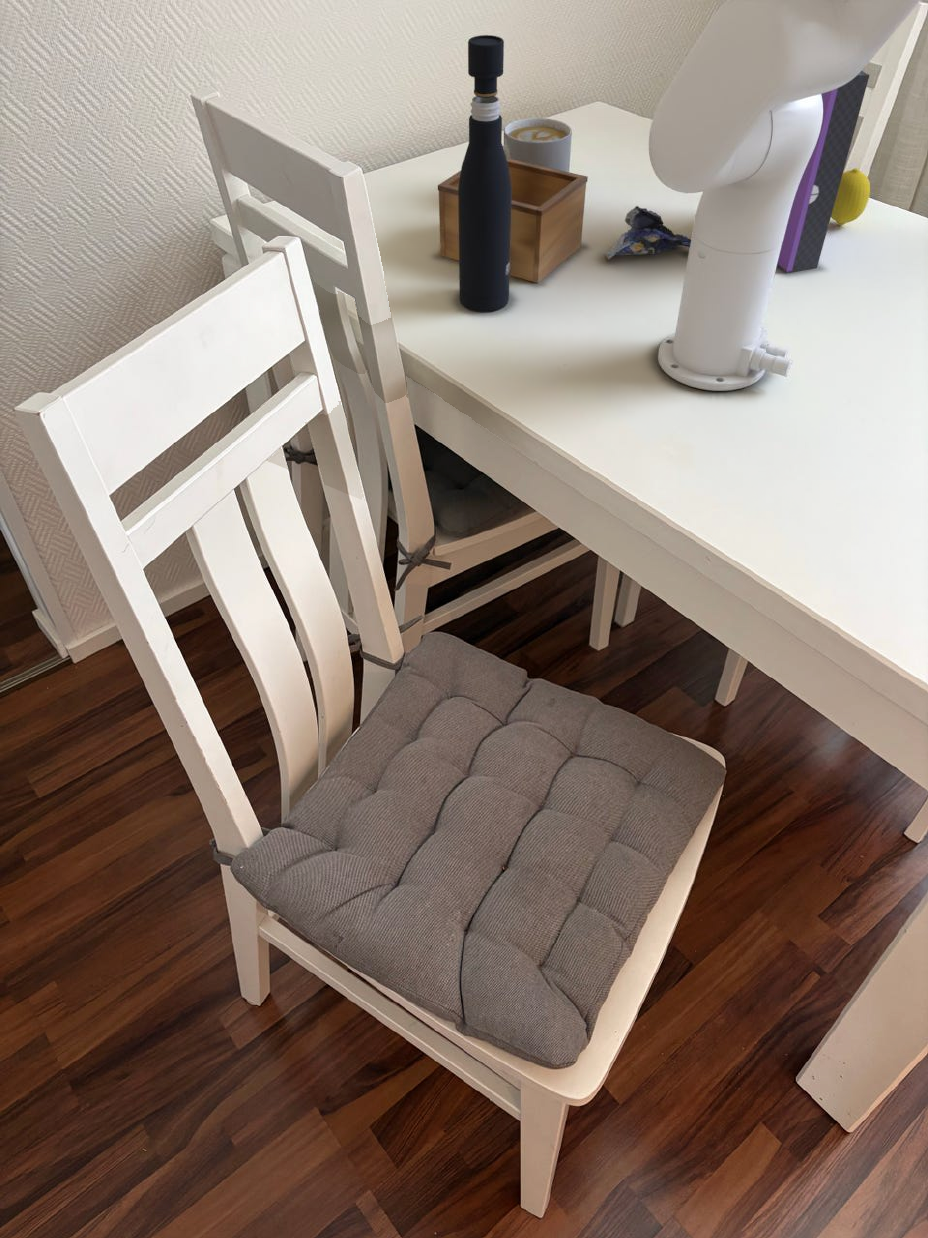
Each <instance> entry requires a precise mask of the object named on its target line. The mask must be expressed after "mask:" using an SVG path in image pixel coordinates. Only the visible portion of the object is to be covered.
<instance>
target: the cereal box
mask: <svg viewBox="0 0 928 1238" xmlns="http://www.w3.org/2000/svg"><path fill="white" fill-rule="evenodd" d="M869 79H870V74H868V73H866V72H865V71H863V70H862V71H861V72H860V73H859V74H858V75H857V76H856V77H855V78H853V79H852V80H851V81H849V82H848V83H846V84H845V85H843V86H841V87H839V88H837V89H834V90H832V91H829V92H826V93H822V94H821V96H822V101H823V119H822V125H821V130H820V134H819V137H818V140H817V143H816V146H815V148H814V151H813V153H812V155H811V158H810V160H809V162H808V164H807V167H806V169H805V171H804V173H803V176H802V178H801V181H800V183H799V186H798V189H797V192H796V194H795V198H794V201H793V204H792V207H791V211H790V215H789V219H788V223H787V227H786V231H785V235H784V239H783V242H782V246H781V250H780V254H779V258H778V263H777V268H779V269H780V270H782V271H783V272H784V273H786V274H790V273H796V272H802V271H807V270H812V269H817V268H818V266H819V263H820V258H821V254H822V251H823V247H824V244H825V241H826V236H827V232H828V229H829V225H830V222H831V219H832V218H831V215H832V211H833V207H834V204H835V200H836V196H837V193H838V189H839V185H840V182H841V178H842V174H843V173H844V172H845V167H846V163H847V160H848V156H849V153H850V149H851V145H852V142H853V138H854V134H855V130H856V126H857V122H858V119H859V116H860V112H861V108H862V105H863V101H864V98H865V94H866V90H867V86H868V83H869Z"/></svg>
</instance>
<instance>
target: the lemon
mask: <svg viewBox="0 0 928 1238" xmlns="http://www.w3.org/2000/svg"><path fill="white" fill-rule="evenodd" d="M870 194H871V183H870V180H869V178H868V177H867V175H866V174H865V173H863V172H862V171H861V170H860V169H859V168H856V167H855V168H853V169H850V170H847V171H843V174H842V178H841V182H840V185H839V189H838V193H837V196H836V200H835V204H834V207H833V211H832V215H831V218H830V219H832V220H833V221H835V222H836V224H837V225H838V226H841V227H842V226H844V225H845V224H847V223H851V222H853V221H855V220H857V219H858V218H859V217H861V215H862V214H863V213H864V211H865V209H866V208H867V205H868V203H869V199H870Z"/></svg>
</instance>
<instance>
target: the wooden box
mask: <svg viewBox="0 0 928 1238" xmlns="http://www.w3.org/2000/svg"><path fill="white" fill-rule="evenodd" d="M506 159H507V163H508V166H509V172H510V178H511V186H512V199H511V236H510V273H509V276H510V277H515V278H518V279H521V280H526V281H528V282H533V283H535V284H539V283H540V282H542V281H543V280H544V279H545V278H546V277H547V276H548V275H550V273H552V272H553V271H554V270H556V269H557V268H558V267H559V266H561V265H562V264H563V263H564V262H565V261H566V260H567V259H569V258H570V257H571V256H572V255H574V254H575V253H576V252H577V251H579V249H581V247H582V237H583V228H584V227H583V226H584V215H585V213H584V212H585V202H586V190H587V183H588V179H589V176H587V175H582V174H578V173H573V172H570V171H569V172H565V171H561V170H556V169H552V168H548V167H543V166H539V165H535V164H530V163H526V162H522V161H517V160H513V159H509V158H506ZM460 173H461V170H459V171H458V172H456V173H455V174H453V175H452V176H450V177H448V178H447V179H445V180H444V181H442V182H441V183H439V184H437V191H438V209H439V210H438V215H439V217H438V219H439V254H440V255H439V256H440V257H443V258H447V259H450V260H454V261H458V262H459V214H458V186H459V179H460Z"/></svg>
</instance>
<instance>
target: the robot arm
mask: <svg viewBox="0 0 928 1238" xmlns="http://www.w3.org/2000/svg"><path fill="white" fill-rule="evenodd" d="M921 1H922V0H726V1H725V2H723V4H721V6H720V7H719V8H718V9H717V10H716V11H715V13H714V14H713V15H712V16H711V18H710V19H709V21H708V23H707V24H706V25H705V27H704V29H703V31H702V32H701V33H700V35H699V37H698V38H697V40H696V42H695V43H694V45H693V46H692V49H690V51H689V53H688V54H687V56H686V58H685V60H684V61H683V63H682V65H681V66H680V67H679V69H678V71H677V72H676V73H675V76H674V77H673V78H672V80H671V82H670V84H669V86H668V87H667V89H666V90H665V91H664V93H663V95H662V97H661V99H660V101H659V102H658V105H657V107H656V109H655V112H654V114H653V117H652V120H651V124H650V128H649V134H648V155H649V161H650V165H651V167H652V170H653V172H654V174H655V176H656V178H658V180H659V181H660V182H661V183H662V184H663V185H664V186H665V187H667V188H669V189H671V190H672V191H675V192H678V193H683V194H697V193H701V196H700V199H699V202H698V204H697V208H696V212H695V216H694V222H693V227H692V233H691V238H690V239H691V244H690V247H689V250H688V255H687V262H686V267H685V274H684V279H683V286H682V292H681V299H680V302H679V303H680V304H679V309H678V315H677V321H676V327H675V332H673V333H672V334H670V335H668V336H666V337H665V338H664V339H663V341H662V342H661V343H660V345H659V348H658V355H657V360H658V364H659V366H660V367H661V370H663V372H665V374H666V375H668V376H669V377H670V378H672V379H673V380H675V381H677V382H679V383H681V384H683V385H686V386H688V387H692V388H695V389H700V390H705V391H716V392H717V391H719V392H725V391H726V392H727V391H734V390H739V389H743V388H747V387H749V386H751V385H753V384H756V383H757V382H758V381H759V380H760V379H762V377H763V376H764V374H765V373H766V371H768V372H770V373H772V374H775V375H779V376H782V377H787V376H788V375H789V373H790V370H791V369H792V366H793V359H792V358H788V354H789V348H784V347H782V346H776V345H772V344H770V341H767V336H768V333H769V328H766V327H763V325H764V320H765V316H766V311H767V308H768V304H769V300H770V295H771V291H772V287H773V284H774V279H775V278H774V277H775V275H776V270H777V268H778V266H777V263H778V258H779V254H780V250H781V246H782V242H783V239H784V235H785V231H786V227H787V223H788V219H789V215H790V211H791V207H792V204H793V201H794V198H795V194H796V192H797V189H798V186H799V183H800V181H801V178H802V176H803V173H804V171H805V169H806V167H807V164H808V162H809V160H810V158H811V155H812V153H813V151H814V148H815V146H816V143H817V140H818V137H819V134H820V130H821V125H822V119H823V101H822V96H821V94H822V93H826V92H829V91H832V90H834V89H837V88H839V87H841V86H843V85H845V84H846V83H848V82H849V81H851V80H852V79H853V78H855V77H856V76H857V75H858V74H859V73H860V72H861V71H863V70H864V69H865V67H866V66H867V65H868V64H869V63H870V62H871V61H872V60H873V58H874V57H875V56H876V54H878V52H879V51H880V49H881V48H882V47H883V46H884V45H885V43H886V42H887V41H888V40H890V37H892V35H893V34H894V33H895V32H896V31H897V29H899V27H900V26H901V25H902V23H904V21H905V20H906V19H907V18H908V16H909V15H910V14H911V13H912V11H913V10H914V9H915V8H917V6H918V5H919V3H921Z"/></svg>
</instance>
